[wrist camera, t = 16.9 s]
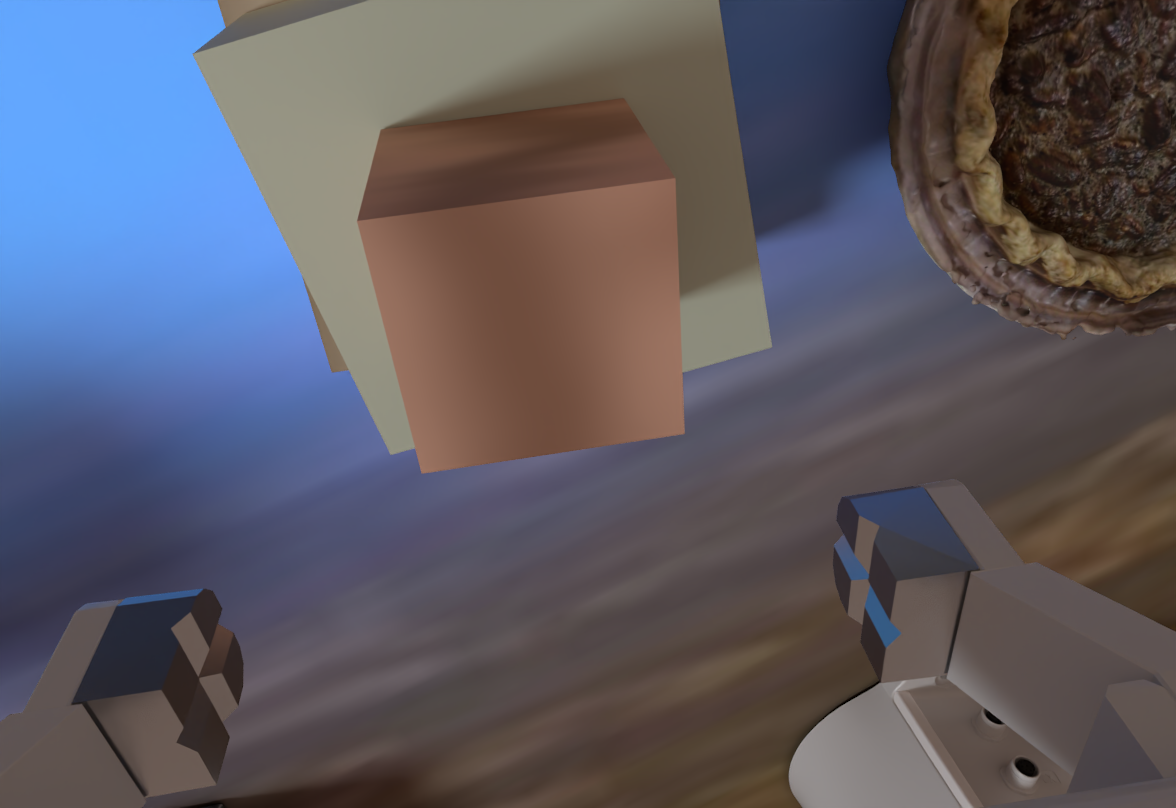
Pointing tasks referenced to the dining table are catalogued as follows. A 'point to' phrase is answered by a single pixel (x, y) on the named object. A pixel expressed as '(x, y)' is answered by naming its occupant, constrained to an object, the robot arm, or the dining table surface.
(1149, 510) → the dining table surface
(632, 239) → the terracotta cube
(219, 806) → the small box
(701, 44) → the upper slab
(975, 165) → the pie
